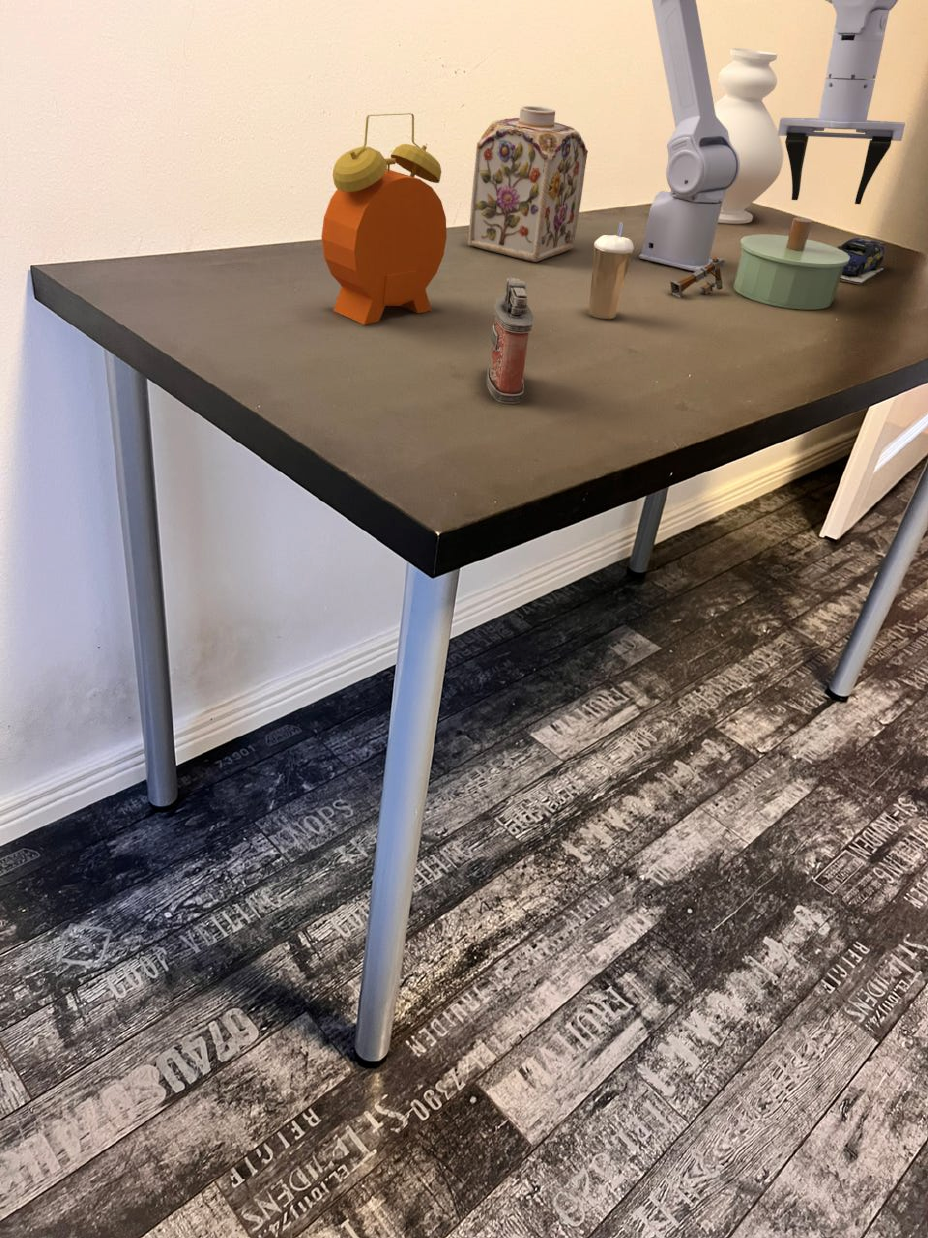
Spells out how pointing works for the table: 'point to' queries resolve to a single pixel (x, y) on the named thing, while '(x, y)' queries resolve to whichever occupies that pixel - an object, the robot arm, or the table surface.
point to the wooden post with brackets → (698, 275)
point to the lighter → (509, 343)
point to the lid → (795, 248)
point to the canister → (786, 283)
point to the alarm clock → (383, 230)
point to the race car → (861, 259)
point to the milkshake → (609, 273)
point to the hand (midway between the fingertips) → (826, 201)
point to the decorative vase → (749, 130)
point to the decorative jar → (527, 186)
